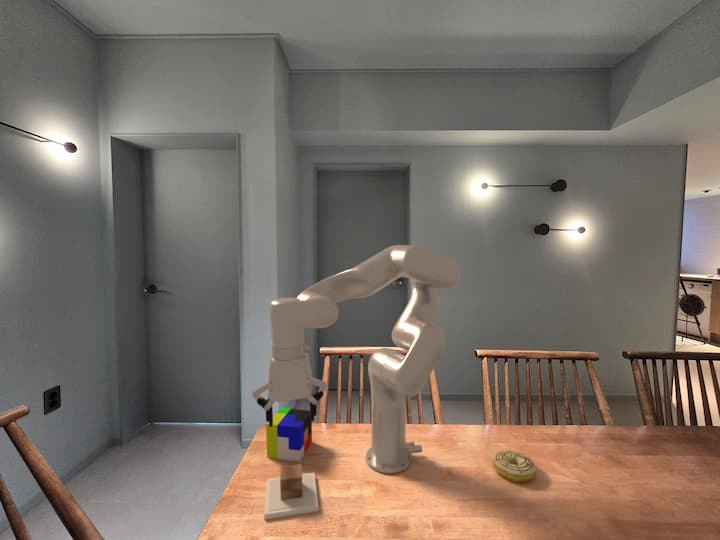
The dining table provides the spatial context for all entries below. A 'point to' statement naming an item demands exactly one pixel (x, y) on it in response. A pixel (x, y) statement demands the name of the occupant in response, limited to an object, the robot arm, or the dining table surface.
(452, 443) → the dining table surface
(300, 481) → the walnut cube
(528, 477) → the decorated donut
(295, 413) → the puzzle toy
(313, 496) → the plate
